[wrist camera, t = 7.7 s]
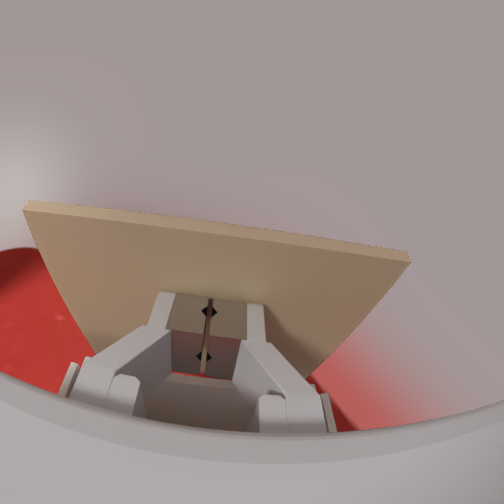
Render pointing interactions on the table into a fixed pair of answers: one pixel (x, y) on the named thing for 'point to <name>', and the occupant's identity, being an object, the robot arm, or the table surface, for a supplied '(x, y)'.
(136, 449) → the robot arm
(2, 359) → the table surface
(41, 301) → the table surface
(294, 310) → the flap
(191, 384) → the carton
